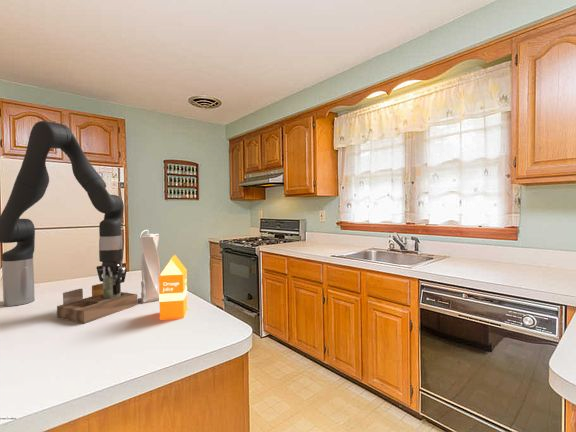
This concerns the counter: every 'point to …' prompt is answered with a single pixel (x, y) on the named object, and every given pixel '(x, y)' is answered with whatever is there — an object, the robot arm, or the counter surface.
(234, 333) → the counter surface
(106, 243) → the robot arm
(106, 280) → the green plug
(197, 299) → the counter surface
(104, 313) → the socket block
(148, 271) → the skyscraper
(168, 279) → the orange juice
